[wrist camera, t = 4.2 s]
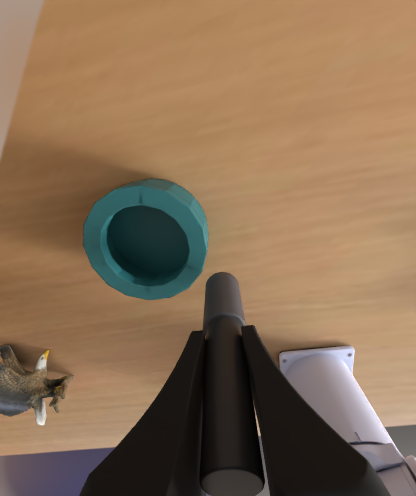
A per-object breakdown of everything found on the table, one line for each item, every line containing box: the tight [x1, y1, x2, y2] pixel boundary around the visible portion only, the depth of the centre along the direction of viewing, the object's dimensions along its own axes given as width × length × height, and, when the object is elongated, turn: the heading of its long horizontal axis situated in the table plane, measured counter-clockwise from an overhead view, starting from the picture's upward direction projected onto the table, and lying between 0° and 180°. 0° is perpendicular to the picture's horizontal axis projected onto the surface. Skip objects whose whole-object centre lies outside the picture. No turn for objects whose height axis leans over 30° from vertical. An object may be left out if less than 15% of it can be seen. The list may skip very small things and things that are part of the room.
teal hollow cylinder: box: [83, 179, 208, 300], centre depth 19 cm, size 9×9×4 cm
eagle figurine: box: [0, 345, 73, 426], centre depth 25 cm, size 8×7×9 cm
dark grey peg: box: [199, 272, 265, 496], centre depth 12 cm, size 2×2×11 cm
